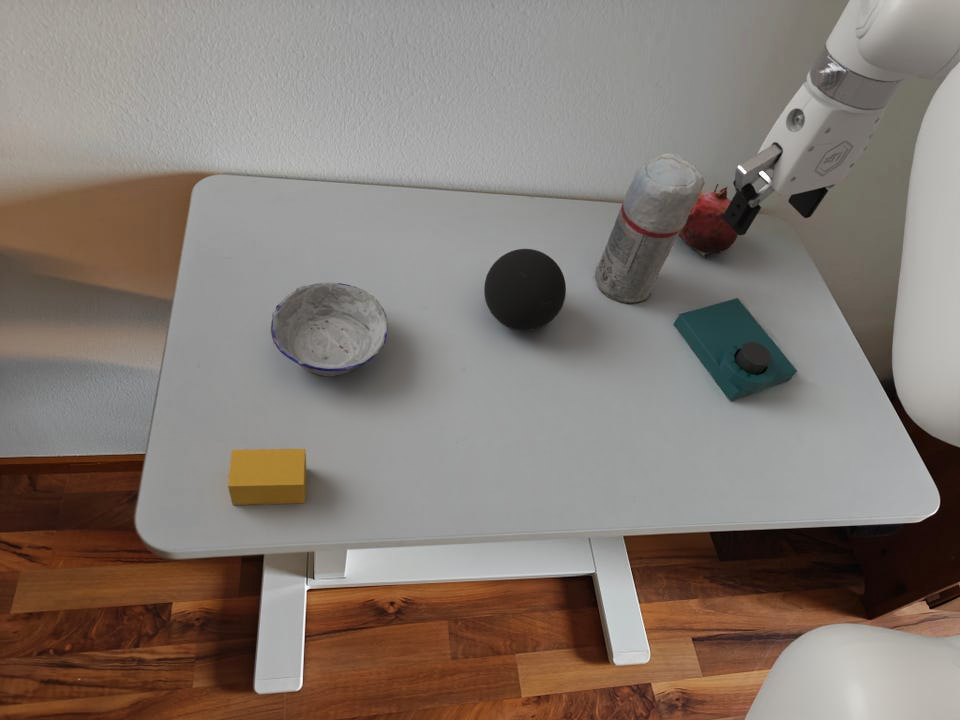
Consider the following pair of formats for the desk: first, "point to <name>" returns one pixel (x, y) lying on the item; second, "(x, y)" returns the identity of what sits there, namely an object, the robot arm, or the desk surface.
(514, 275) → the speaker
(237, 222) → the desk surface
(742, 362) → the dark gray cylinder
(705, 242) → the fruit
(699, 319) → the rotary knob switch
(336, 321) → the bowl
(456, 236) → the desk surface
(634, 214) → the spray can
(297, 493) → the sponge
